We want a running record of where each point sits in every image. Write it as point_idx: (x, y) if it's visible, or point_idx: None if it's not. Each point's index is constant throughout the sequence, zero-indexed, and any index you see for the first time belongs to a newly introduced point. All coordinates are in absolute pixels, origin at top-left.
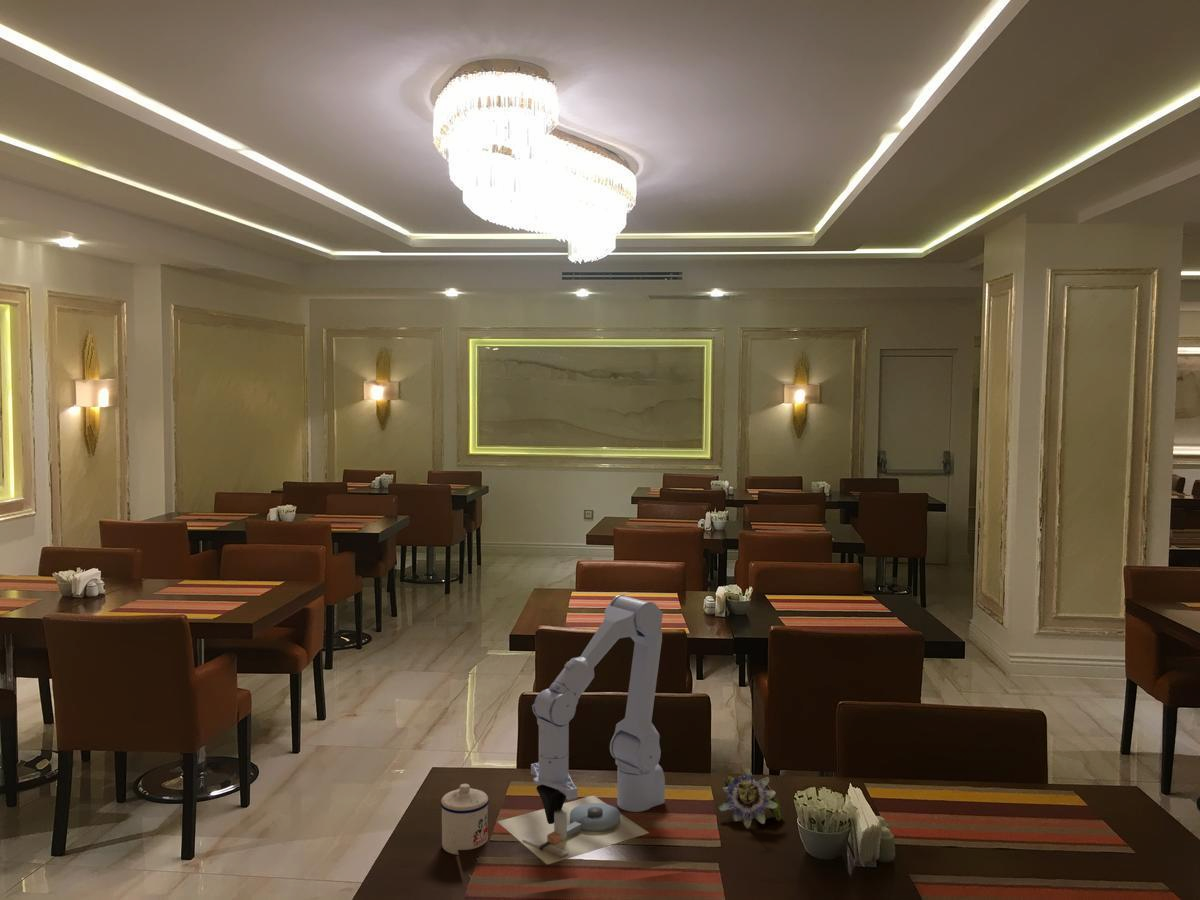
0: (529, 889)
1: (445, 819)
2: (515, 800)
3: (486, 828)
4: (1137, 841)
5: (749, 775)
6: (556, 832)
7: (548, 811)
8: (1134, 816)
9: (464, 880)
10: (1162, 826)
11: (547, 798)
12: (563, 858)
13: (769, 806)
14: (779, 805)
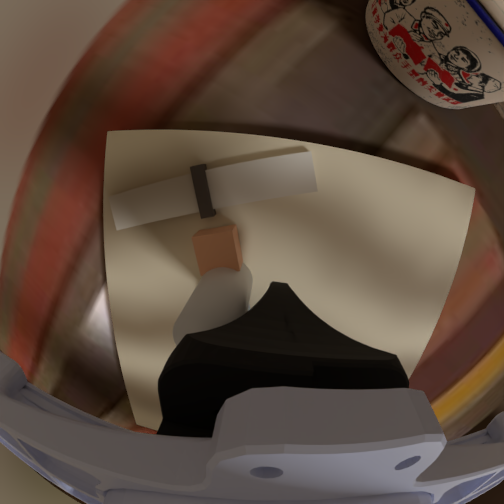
0: (86, 53)
1: None
2: (499, 320)
3: (413, 44)
4: (53, 483)
5: None
6: (215, 269)
7: (259, 302)
8: (76, 499)
9: None
10: (65, 493)
11: (193, 333)
12: (106, 198)
13: None
14: None
